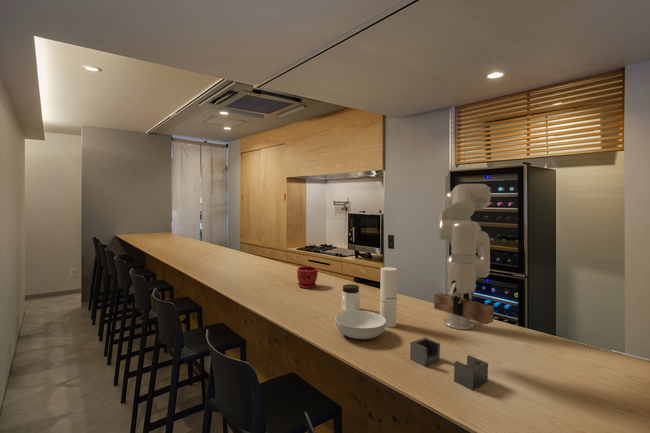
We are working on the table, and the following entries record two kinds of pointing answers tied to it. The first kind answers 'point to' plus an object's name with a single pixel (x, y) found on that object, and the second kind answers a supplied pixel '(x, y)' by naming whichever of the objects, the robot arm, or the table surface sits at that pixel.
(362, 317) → the serving bowl
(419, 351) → the bracket
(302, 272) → the plant pot
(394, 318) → the cylindrical container
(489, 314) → the walnut rail
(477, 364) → the bracket
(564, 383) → the table surface
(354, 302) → the jar
